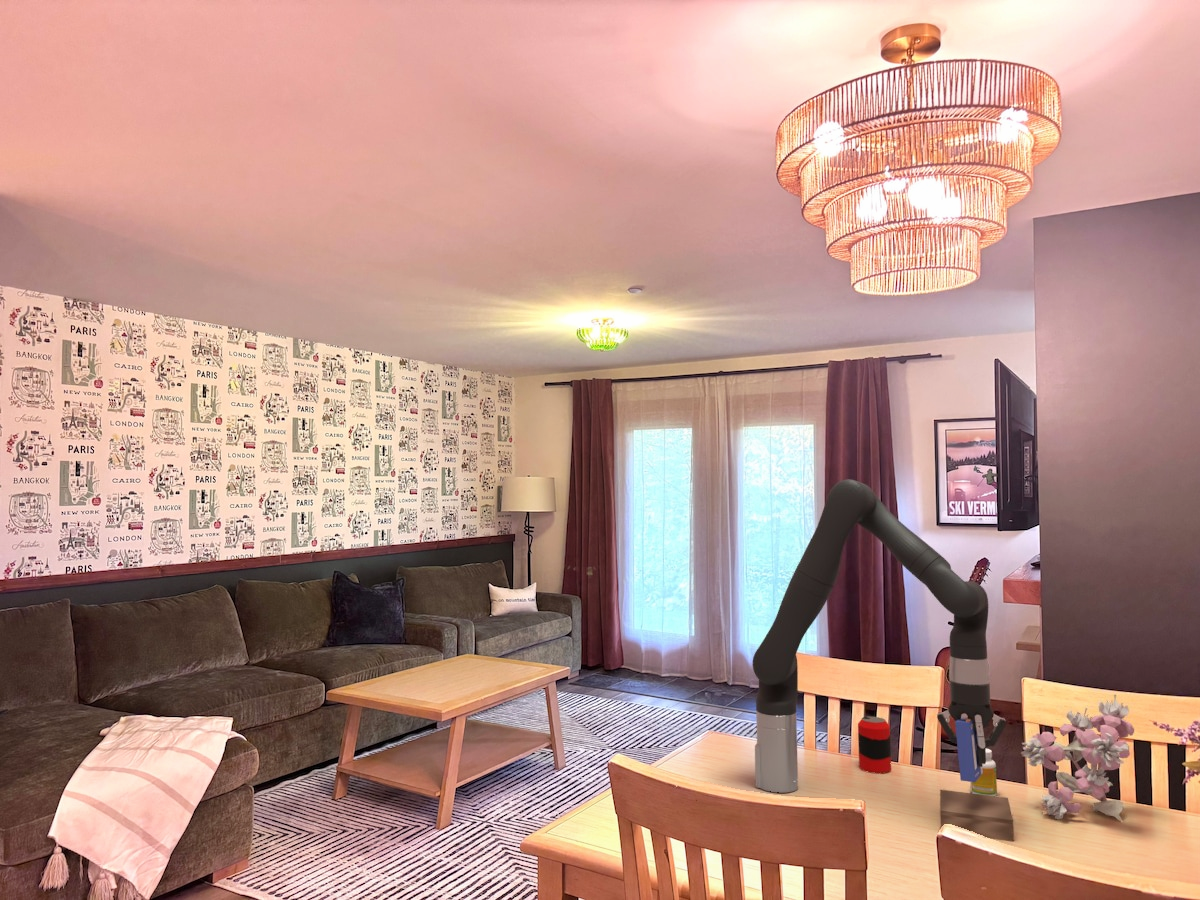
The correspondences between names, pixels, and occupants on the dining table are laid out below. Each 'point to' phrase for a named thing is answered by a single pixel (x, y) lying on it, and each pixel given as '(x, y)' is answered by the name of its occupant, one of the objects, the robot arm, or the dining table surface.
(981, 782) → the supplement bottle
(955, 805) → the walnut stand
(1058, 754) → the flower
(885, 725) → the soda can
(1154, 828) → the dining table surface
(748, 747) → the dining table surface
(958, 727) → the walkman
